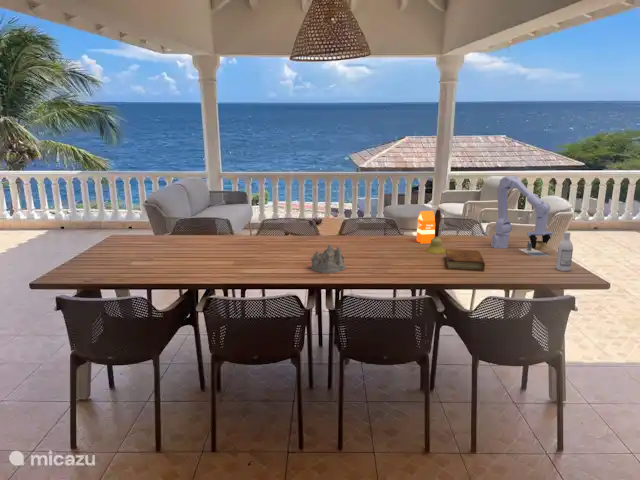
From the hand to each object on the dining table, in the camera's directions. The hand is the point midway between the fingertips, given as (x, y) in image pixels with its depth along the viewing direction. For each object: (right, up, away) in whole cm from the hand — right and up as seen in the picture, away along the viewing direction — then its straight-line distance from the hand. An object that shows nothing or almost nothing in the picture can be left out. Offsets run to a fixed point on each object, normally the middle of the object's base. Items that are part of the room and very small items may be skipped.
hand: (538, 247), depth 288 cm
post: (-1, -3, +10) cm, 11 cm away
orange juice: (-58, +3, +34) cm, 67 cm away
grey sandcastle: (-121, -11, -23) cm, 123 cm away
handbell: (-56, -2, +12) cm, 57 cm away
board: (0, -4, +6) cm, 7 cm away
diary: (-47, -9, -15) cm, 50 cm away
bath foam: (+2, -11, -24) cm, 27 cm away
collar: (0, -1, 0) cm, 1 cm away
